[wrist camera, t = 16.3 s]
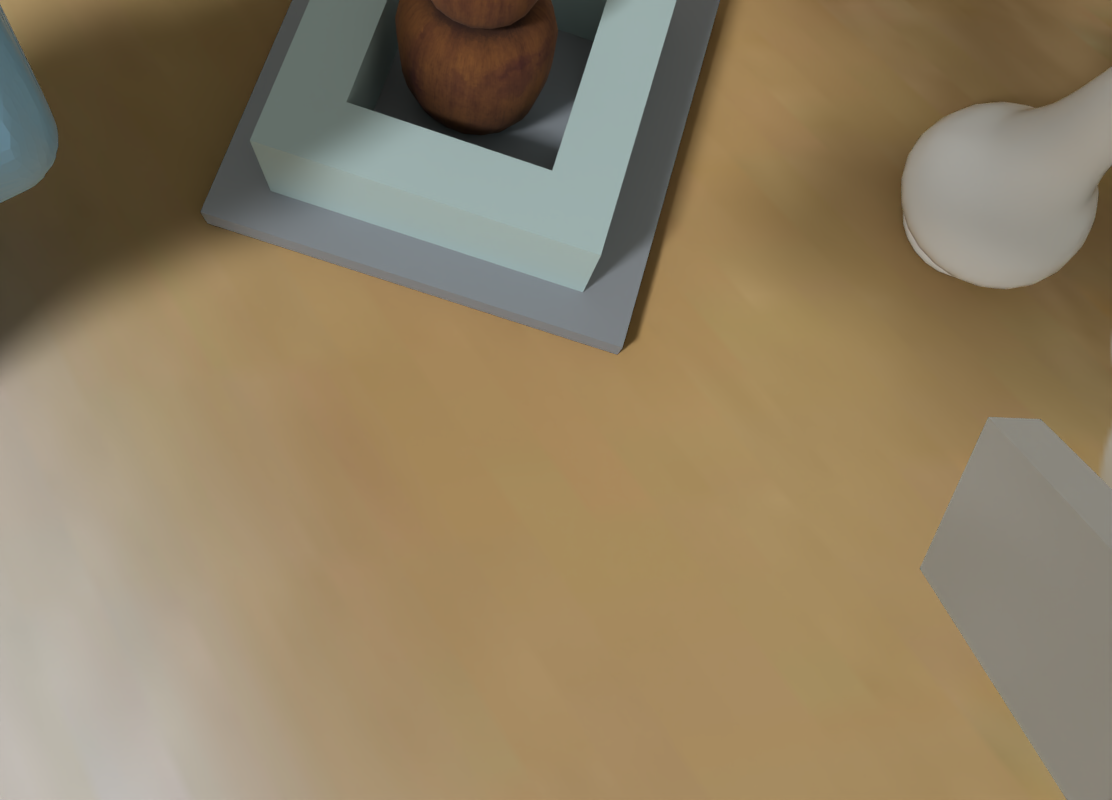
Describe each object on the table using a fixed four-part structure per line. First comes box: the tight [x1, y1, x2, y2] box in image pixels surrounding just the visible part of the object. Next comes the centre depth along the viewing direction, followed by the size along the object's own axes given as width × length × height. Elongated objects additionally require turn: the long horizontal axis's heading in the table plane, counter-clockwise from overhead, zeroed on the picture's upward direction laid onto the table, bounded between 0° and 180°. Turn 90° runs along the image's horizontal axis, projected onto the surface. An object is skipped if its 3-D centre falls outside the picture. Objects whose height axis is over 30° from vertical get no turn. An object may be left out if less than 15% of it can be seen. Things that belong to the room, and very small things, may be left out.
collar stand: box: [201, 0, 720, 354], centre depth 40 cm, size 20×20×6 cm
